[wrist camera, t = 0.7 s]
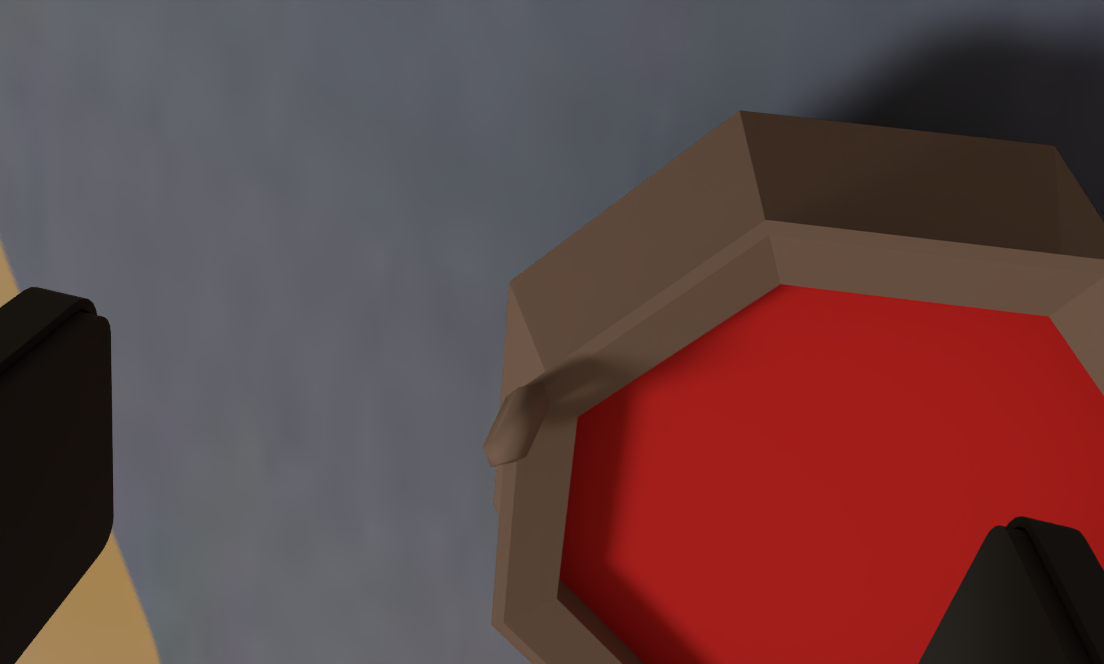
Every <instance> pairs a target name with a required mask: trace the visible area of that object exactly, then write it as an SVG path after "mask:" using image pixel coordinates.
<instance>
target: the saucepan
mask: <svg viewBox="0 0 1104 664" xmlns="http://www.w3.org/2000/svg"><path fill="white" fill-rule="evenodd" d="M483 449H484V451H485V454H486V456H487V459H488V461H489V464H490V466H491V467H494V466H496V475H495V489H494V503H493V504H494V506H495V508H496V511H497V513H498V515H499V529H498V542H497V556H496V569H495V582H494V595H493V609H492V622H491V625H492V626H493V627H494V628H495V629H496V630H497V631H498V632H500V633H501V634H502V635H503V636H504V637H505V638H506V639H507V640H508V641H509V642H510V643H511V644H512V645H513V646H514V647H515V648H516V649H517V650H518V651H519V652H521V653H522V654H523V655H524V656H525V657H526V658H527V659H528V660H529V661H530V662H531V663H532V664H918V663H919V661H920V659H921V657H922V655H923V653H924V652H925V650H926V648H927V646H928V644H929V642H930V640H931V638H932V637H933V635H934V633H935V631H936V629H937V627H938V625H939V623H940V622H941V620H942V618H943V616H944V614H945V612H946V610H947V609H948V607H949V605H950V603H951V601H952V599H953V597H954V595H955V594H956V592H957V590H958V588H959V586H960V584H961V582H962V580H963V579H964V577H965V575H966V573H967V571H968V569H969V567H970V565H971V564H972V562H973V560H974V558H975V556H976V554H977V552H978V550H979V549H980V547H981V545H982V543H983V541H984V539H985V537H986V536H987V534H988V533H989V531H990V530H991V529H992V528H993V527H995V526H999V525H1001V526H1005V527H1006V526H1007V525H1008V523H1009V522H1010V521H1012V520H1013V519H1014V518H1015V517H1020V516H1024V517H1028V518H1032V519H1036V520H1041V521H1045V522H1049V523H1054V524H1058V525H1062V526H1067V527H1071V528H1074V529H1076V530H1079V531H1080V532H1081V533H1082V535H1083V536H1084V537H1085V539H1086V540H1087V542H1088V544H1089V546H1090V547H1091V549H1092V551H1093V553H1094V554H1095V556H1096V558H1097V560H1098V561H1099V563H1100V565H1101V567H1102V568H1103V570H1104V222H1103V220H1102V219H1101V217H1100V216H1099V214H1098V213H1097V211H1096V210H1095V208H1094V206H1093V205H1092V203H1091V202H1090V200H1089V199H1088V197H1087V196H1086V194H1085V192H1084V191H1083V189H1082V188H1081V186H1080V185H1079V183H1078V182H1077V180H1076V179H1075V177H1074V175H1073V174H1072V172H1071V171H1070V169H1069V168H1068V166H1067V165H1066V163H1065V161H1064V160H1063V158H1062V157H1061V155H1060V154H1059V152H1058V151H1057V149H1056V147H1055V146H1053V145H1044V144H1035V143H1026V142H1017V141H1008V140H999V139H990V138H981V137H972V136H963V135H954V134H945V133H936V132H927V131H918V130H909V129H900V128H891V127H882V126H873V125H864V124H855V123H846V122H838V121H829V120H820V119H811V118H802V117H793V116H784V115H775V114H766V113H757V112H748V111H738V112H737V113H735V114H734V115H733V116H731V117H730V118H729V119H727V120H726V121H725V122H723V123H722V124H721V125H719V126H718V127H717V128H715V129H714V130H713V131H711V132H710V133H709V134H707V135H706V136H705V137H703V138H702V139H701V140H699V141H698V142H697V143H695V144H694V145H693V146H691V147H690V148H688V149H687V150H686V151H684V152H683V153H682V154H680V155H679V156H678V157H676V158H675V159H674V160H672V161H671V162H670V163H668V164H667V165H666V166H664V167H663V168H662V169H660V170H659V171H658V172H656V173H655V174H654V175H652V176H651V177H650V178H648V179H647V180H646V181H644V182H643V183H642V184H640V185H639V186H637V187H636V188H635V189H633V190H632V191H631V192H629V193H628V194H627V195H625V196H624V197H623V198H621V199H620V200H619V201H617V202H616V203H615V204H613V205H612V206H611V207H609V208H608V209H607V210H605V211H604V212H603V213H601V214H600V215H599V216H597V217H596V218H595V219H593V220H592V221H590V222H589V223H588V224H586V225H585V226H584V227H582V228H581V229H580V230H578V231H577V232H576V233H574V234H573V235H572V236H570V237H569V238H568V239H566V240H565V241H564V242H562V243H561V244H560V245H558V246H557V247H556V248H554V249H553V250H552V251H550V252H549V253H548V254H546V255H545V256H544V257H542V258H541V259H539V260H538V261H537V262H535V263H534V264H533V265H531V266H530V267H529V268H527V269H526V270H525V271H523V272H522V273H521V274H519V275H518V276H517V277H515V278H514V279H513V280H511V281H510V282H509V293H508V307H507V321H506V335H505V349H504V363H503V377H502V391H501V405H500V411H499V413H498V415H497V417H496V419H495V422H494V424H493V426H492V428H491V430H490V432H489V434H488V437H487V439H486V441H485V443H484V445H483Z"/></svg>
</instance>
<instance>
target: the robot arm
mask: <svg viewBox="0 0 1104 664" xmlns="http://www.w3.org/2000/svg"><path fill="white" fill-rule="evenodd" d="M113 516H114V514H113V448H112V381H111V330H110V324H109V322H108V320H107V319H106V318H105V317H102V316H97V312H96V309H95V306H94V304H93V303H92V302H91V301H90V300H89V299H86V298H81V297H77V296H73V295H68V294H64V293H60V292H55V291H51V290H47V289H43V288H38V287H30V288H28V289H26V290H24V291H23V292H21V293H20V294H18V295H17V296H16V297H14V298H13V299H12V300H10V301H9V302H7V303H6V304H5V305H3V306H2V307H1V308H0V664H15V663H16V661H17V660H18V659H19V657H20V656H21V655H22V654H23V652H24V651H25V650H26V648H27V647H28V646H29V645H30V643H31V642H32V641H33V639H34V638H35V637H36V635H37V634H38V633H39V632H40V630H41V629H42V628H43V626H44V625H45V624H46V623H47V621H48V620H49V619H50V617H51V616H52V615H53V614H54V612H55V611H56V610H57V609H58V607H59V606H60V605H61V603H62V602H63V601H64V600H65V598H66V597H67V596H68V594H69V593H70V592H71V590H72V589H73V588H74V587H75V586H76V584H77V583H78V582H79V580H80V579H81V578H82V577H83V575H84V574H85V572H86V571H87V570H88V569H89V567H90V566H91V565H92V564H93V562H94V561H95V560H96V559H97V557H98V556H99V554H100V553H101V552H102V550H103V549H104V547H105V545H106V543H107V541H108V539H109V536H110V533H111V529H112V525H113ZM918 664H1104V570H1103V568H1102V567H1101V565H1100V563H1099V561H1098V560H1097V558H1096V556H1095V554H1094V553H1093V551H1092V549H1091V547H1090V546H1089V544H1088V542H1087V540H1086V539H1085V537H1084V536H1083V535H1082V533H1081V532H1080V531H1079V530H1076V529H1074V528H1071V527H1067V526H1062V525H1058V524H1054V523H1049V522H1045V521H1041V520H1036V519H1032V518H1028V517H1024V516H1020V517H1015V518H1014V519H1013V520H1012V521H1010V522H1009V523H1008V525H1007V526H1006V527H1005V526H1001V525H999V526H995V527H993V528H992V529H991V530H990V531H989V533H988V534H987V536H986V537H985V539H984V541H983V543H982V545H981V547H980V549H979V550H978V552H977V554H976V556H975V558H974V560H973V562H972V564H971V565H970V567H969V569H968V571H967V573H966V575H965V577H964V579H963V580H962V582H961V584H960V586H959V588H958V590H957V592H956V594H955V595H954V597H953V599H952V601H951V603H950V605H949V607H948V609H947V610H946V612H945V614H944V616H943V618H942V620H941V622H940V623H939V625H938V627H937V629H936V631H935V633H934V635H933V637H932V638H931V640H930V642H929V644H928V646H927V648H926V650H925V652H924V653H923V655H922V657H921V659H920V661H919V663H918Z"/></svg>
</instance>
